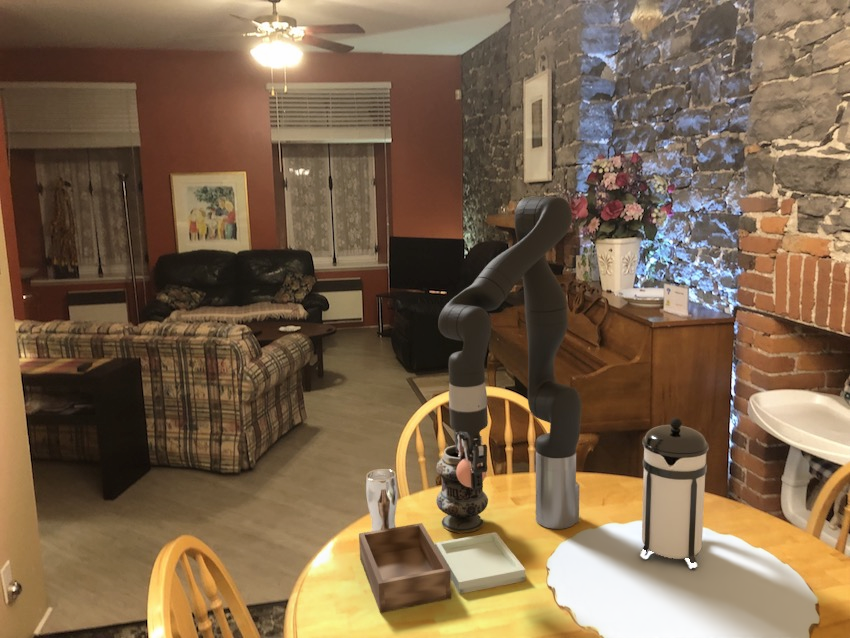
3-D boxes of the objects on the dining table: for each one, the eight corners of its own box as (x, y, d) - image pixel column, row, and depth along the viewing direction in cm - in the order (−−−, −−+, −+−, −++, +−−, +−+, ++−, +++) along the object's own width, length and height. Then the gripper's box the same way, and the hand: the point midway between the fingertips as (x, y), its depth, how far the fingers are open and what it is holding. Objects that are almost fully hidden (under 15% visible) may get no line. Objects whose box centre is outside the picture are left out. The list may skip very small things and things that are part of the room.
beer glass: (395, 545, 154) (392, 482, 152) (364, 542, 156) (361, 480, 153) (402, 530, 161) (399, 469, 158) (373, 528, 163) (370, 467, 160)
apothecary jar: (497, 529, 160) (496, 455, 157) (449, 540, 156) (447, 464, 152) (474, 507, 171) (473, 438, 168) (429, 517, 167) (427, 446, 163)
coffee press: (728, 564, 143) (736, 425, 137) (659, 577, 139) (664, 434, 133) (678, 525, 159) (683, 399, 153) (615, 536, 155) (618, 407, 150)
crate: (422, 548, 153) (422, 523, 152) (451, 598, 134) (450, 570, 133) (360, 559, 149) (358, 533, 148) (380, 612, 130) (378, 583, 129)
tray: (495, 542, 154) (495, 532, 154) (525, 580, 139) (525, 569, 139) (435, 553, 150) (435, 542, 150) (459, 593, 135) (458, 582, 135)
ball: (480, 477, 145) (479, 450, 144) (490, 489, 139) (489, 461, 138) (453, 482, 144) (451, 455, 142) (462, 494, 138) (460, 466, 137)
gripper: (499, 412, 132) (502, 494, 135) (474, 391, 146) (477, 465, 149) (461, 418, 130) (465, 500, 134) (439, 395, 144) (443, 471, 147)
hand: (471, 482), depth 141 cm, fingers closed on ball, 6 cm apart
